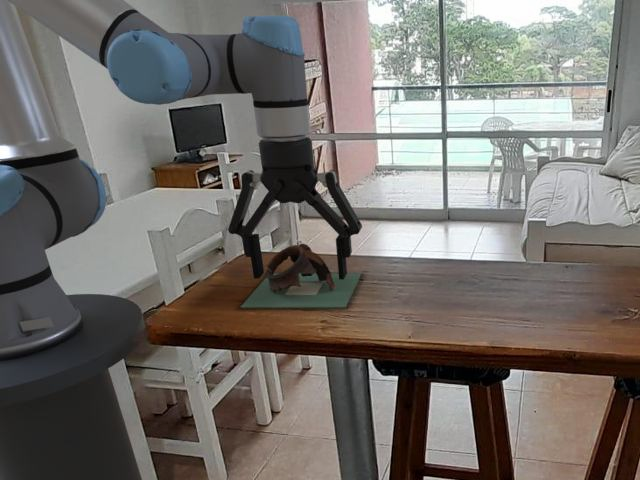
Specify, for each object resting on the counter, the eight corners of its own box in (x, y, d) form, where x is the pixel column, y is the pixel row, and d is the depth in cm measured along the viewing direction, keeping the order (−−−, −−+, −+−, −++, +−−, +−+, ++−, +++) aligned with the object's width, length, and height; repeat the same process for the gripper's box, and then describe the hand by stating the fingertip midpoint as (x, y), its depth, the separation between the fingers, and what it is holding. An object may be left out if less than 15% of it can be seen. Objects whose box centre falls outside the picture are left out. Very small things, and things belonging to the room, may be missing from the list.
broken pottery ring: (339, 300, 88) (309, 263, 83) (288, 326, 90) (255, 291, 85) (337, 257, 97) (309, 220, 92) (290, 281, 99) (261, 247, 94)
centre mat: (240, 308, 86) (240, 306, 86) (269, 275, 99) (269, 273, 99) (345, 308, 85) (345, 306, 85) (361, 274, 98) (360, 272, 97)
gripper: (375, 133, 84) (381, 268, 93) (211, 134, 86) (233, 267, 95) (367, 140, 78) (375, 285, 87) (189, 142, 79) (215, 284, 88)
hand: (300, 276), depth 91 cm, fingers open, 13 cm apart
